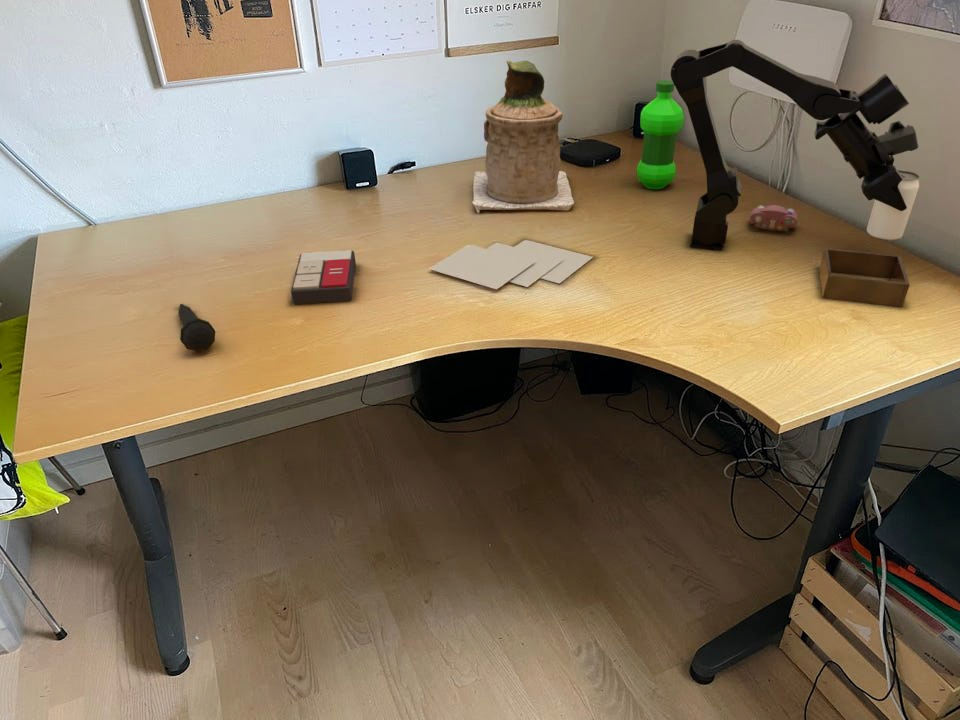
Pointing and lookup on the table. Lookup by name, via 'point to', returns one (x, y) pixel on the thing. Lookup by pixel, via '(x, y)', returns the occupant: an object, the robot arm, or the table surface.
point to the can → (894, 211)
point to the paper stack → (511, 264)
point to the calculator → (324, 277)
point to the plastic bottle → (659, 138)
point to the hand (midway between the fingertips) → (901, 203)
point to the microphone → (195, 330)
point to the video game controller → (774, 217)
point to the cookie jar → (522, 148)
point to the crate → (861, 287)
